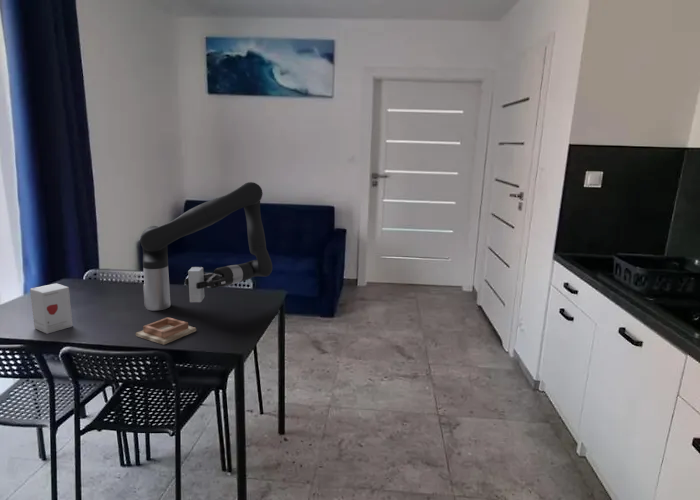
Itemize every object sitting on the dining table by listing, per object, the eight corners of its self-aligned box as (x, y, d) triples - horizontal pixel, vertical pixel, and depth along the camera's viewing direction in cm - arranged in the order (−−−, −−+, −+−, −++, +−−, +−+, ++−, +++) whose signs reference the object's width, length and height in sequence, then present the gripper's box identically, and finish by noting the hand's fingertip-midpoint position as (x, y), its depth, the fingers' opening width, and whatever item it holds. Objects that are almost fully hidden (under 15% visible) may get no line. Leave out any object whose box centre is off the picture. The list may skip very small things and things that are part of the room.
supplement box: (46, 334, 156) (41, 293, 153) (33, 328, 161) (28, 288, 158) (73, 326, 164) (69, 286, 161) (61, 321, 168) (56, 282, 165)
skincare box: (193, 297, 172) (192, 266, 169) (204, 297, 172) (203, 266, 170) (189, 302, 166) (187, 271, 164) (201, 302, 166) (199, 271, 164)
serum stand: (135, 336, 157) (135, 326, 156) (169, 323, 169) (168, 314, 168) (163, 344, 150) (163, 335, 149) (196, 331, 162) (195, 322, 162)
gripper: (217, 263, 182) (179, 270, 170) (239, 269, 174) (202, 278, 161) (217, 280, 184) (180, 289, 171) (240, 288, 175) (202, 298, 163)
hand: (191, 284), depth 166 cm, fingers closed on skincare box, 7 cm apart
